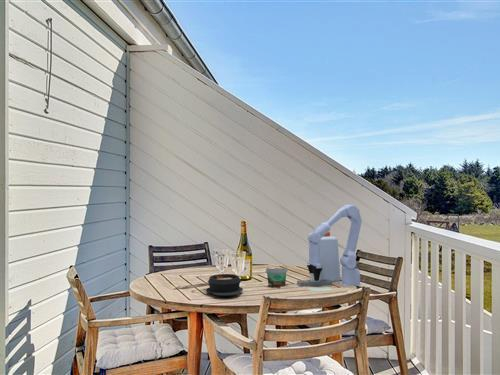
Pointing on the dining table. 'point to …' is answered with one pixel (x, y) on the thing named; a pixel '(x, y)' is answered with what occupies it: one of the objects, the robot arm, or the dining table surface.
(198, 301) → the dining table surface
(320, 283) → the grey slotted plate
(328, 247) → the plastic bottle
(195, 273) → the dining table surface
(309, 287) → the rubber mat
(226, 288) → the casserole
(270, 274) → the food container
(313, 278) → the white rectangular block
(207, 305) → the dining table surface
